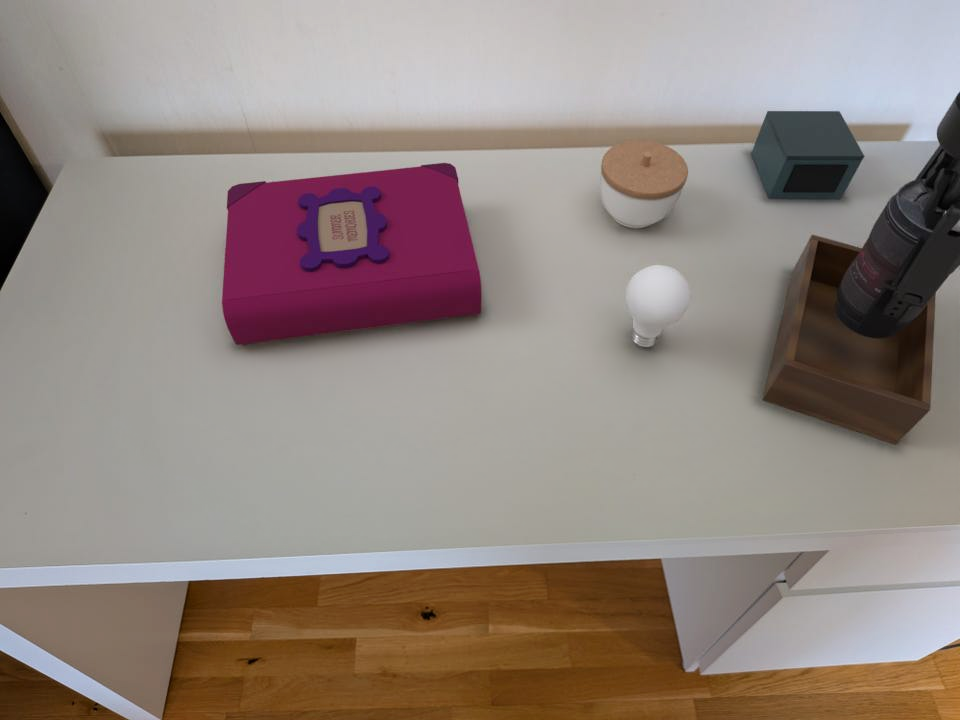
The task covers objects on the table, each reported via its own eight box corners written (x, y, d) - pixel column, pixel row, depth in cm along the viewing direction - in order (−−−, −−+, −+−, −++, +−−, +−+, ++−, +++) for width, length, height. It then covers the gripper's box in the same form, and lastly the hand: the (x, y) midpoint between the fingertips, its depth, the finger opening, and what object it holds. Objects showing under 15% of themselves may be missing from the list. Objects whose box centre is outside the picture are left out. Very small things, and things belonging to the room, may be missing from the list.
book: (482, 321, 80) (483, 276, 73) (238, 353, 76) (217, 309, 70) (455, 204, 92) (453, 157, 86) (243, 227, 89) (226, 180, 83)
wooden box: (791, 273, 84) (812, 234, 79) (907, 307, 81) (937, 268, 76) (762, 400, 73) (784, 363, 68) (896, 444, 70) (930, 410, 65)
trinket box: (577, 205, 92) (586, 146, 84) (637, 177, 95) (651, 118, 88) (629, 252, 87) (644, 193, 79) (690, 221, 90) (710, 162, 83)
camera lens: (811, 313, 72) (877, 203, 60) (852, 276, 75) (921, 164, 63) (882, 358, 69) (966, 251, 57) (921, 317, 72) (1009, 207, 60)
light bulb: (602, 341, 78) (618, 274, 69) (637, 310, 81) (657, 242, 72) (648, 375, 75) (671, 309, 66) (683, 342, 78) (710, 274, 69)
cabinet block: (819, 153, 99) (839, 110, 93) (841, 199, 93) (865, 156, 87) (750, 153, 99) (767, 110, 93) (769, 199, 93) (787, 156, 87)
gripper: (962, 30, 59) (848, 227, 77) (957, 171, 47) (825, 363, 66) (1059, 48, 57) (919, 245, 75) (1078, 199, 46) (908, 389, 64)
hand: (876, 300), depth 70 cm, fingers closed on camera lens, 8 cm apart
